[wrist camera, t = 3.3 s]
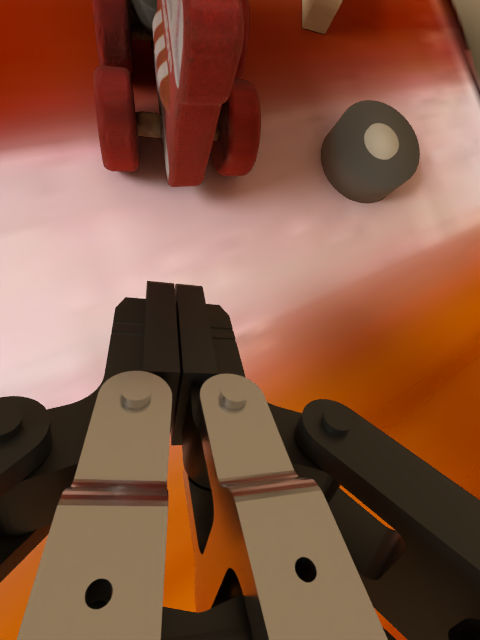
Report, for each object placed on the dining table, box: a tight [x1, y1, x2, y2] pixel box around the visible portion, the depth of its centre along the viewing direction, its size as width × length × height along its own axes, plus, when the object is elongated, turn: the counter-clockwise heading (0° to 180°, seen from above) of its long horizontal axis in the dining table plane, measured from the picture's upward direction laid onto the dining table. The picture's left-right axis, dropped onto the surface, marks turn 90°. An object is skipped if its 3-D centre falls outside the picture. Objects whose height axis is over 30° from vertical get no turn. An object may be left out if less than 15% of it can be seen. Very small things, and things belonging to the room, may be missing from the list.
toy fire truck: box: [92, 0, 261, 187], centre depth 15 cm, size 7×12×10 cm, turn 6°
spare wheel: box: [321, 100, 420, 203], centre depth 21 cm, size 5×5×2 cm
